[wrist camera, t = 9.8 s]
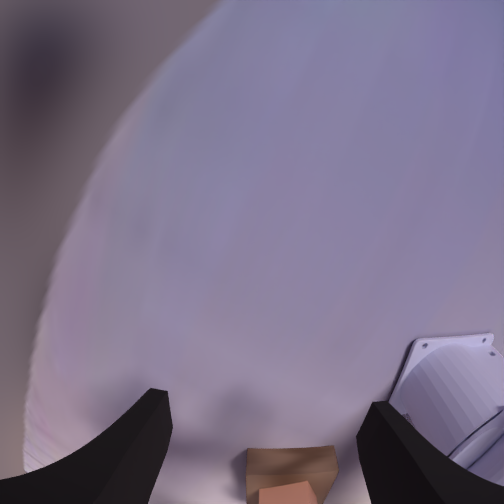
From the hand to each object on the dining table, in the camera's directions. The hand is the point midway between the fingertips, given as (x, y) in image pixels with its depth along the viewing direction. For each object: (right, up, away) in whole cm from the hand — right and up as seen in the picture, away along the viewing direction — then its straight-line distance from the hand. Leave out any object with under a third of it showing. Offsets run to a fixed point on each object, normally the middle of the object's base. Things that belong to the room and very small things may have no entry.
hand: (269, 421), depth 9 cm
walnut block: (+3, -16, +14) cm, 22 cm away
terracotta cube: (+3, -17, +11) cm, 21 cm away
